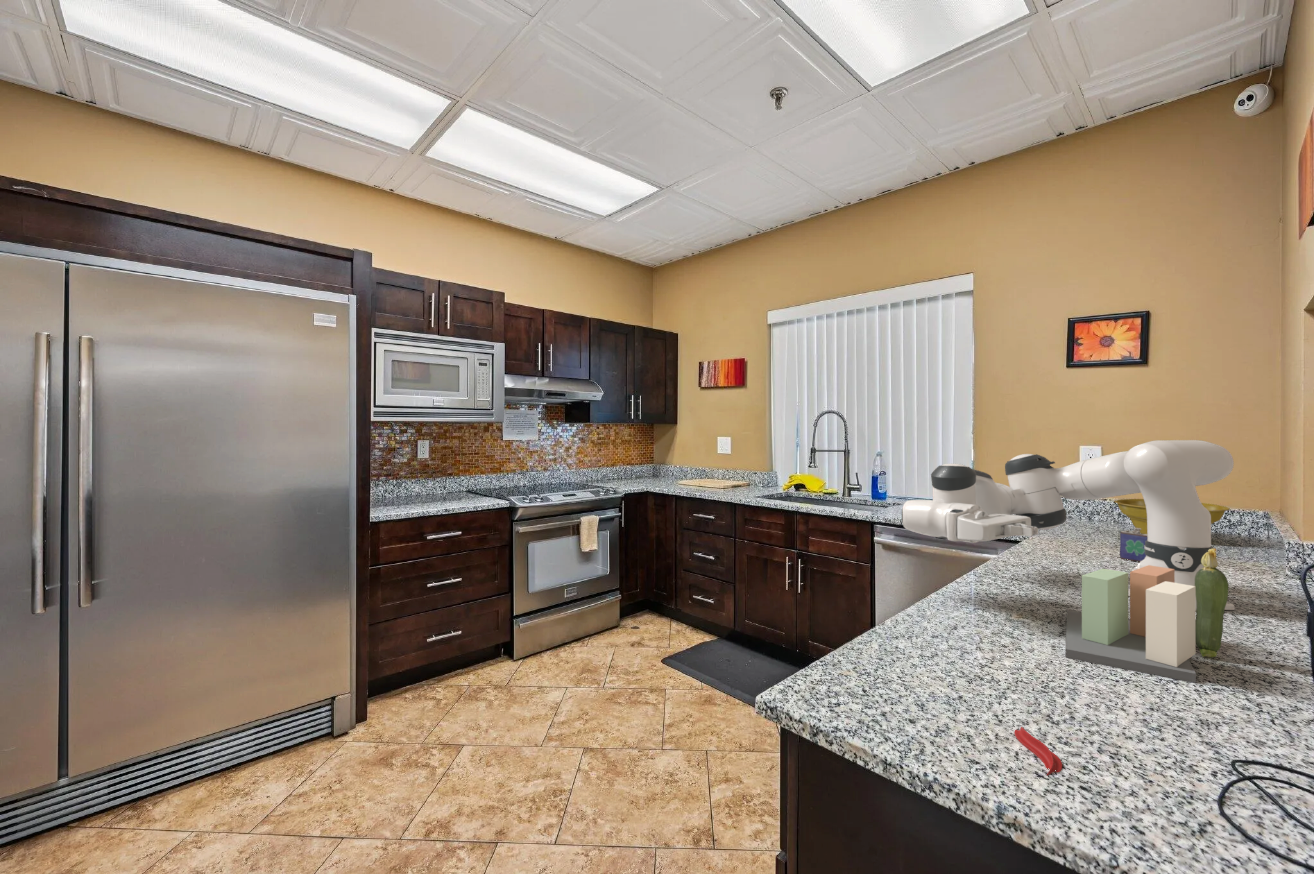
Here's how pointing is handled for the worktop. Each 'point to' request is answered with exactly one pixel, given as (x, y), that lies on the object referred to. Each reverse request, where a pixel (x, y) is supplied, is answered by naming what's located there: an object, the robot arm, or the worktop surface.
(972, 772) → the worktop surface
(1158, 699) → the worktop surface
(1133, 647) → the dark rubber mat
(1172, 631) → the cream block
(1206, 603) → the vegetable
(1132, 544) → the flask
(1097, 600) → the sage green block
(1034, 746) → the cayenne pepper
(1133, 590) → the terracotta block
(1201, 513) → the robot arm
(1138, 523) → the planter bowl
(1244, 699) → the worktop surface
